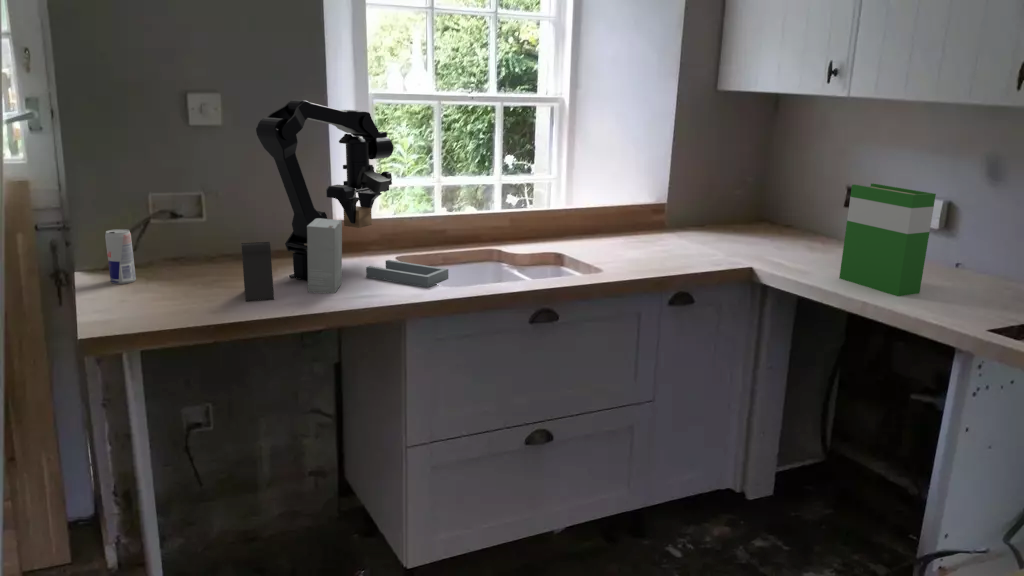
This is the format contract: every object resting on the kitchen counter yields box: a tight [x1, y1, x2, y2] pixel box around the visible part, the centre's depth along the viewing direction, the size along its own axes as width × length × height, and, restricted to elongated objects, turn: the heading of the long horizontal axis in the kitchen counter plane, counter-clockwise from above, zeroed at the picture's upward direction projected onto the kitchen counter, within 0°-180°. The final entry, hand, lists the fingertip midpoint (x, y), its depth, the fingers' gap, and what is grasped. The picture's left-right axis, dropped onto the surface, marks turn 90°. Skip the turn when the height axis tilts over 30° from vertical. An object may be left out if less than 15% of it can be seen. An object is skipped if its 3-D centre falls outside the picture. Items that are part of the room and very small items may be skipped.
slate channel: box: [365, 259, 449, 288], centre depth 194 cm, size 9×18×2 cm, turn 62°
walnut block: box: [343, 205, 373, 229], centre depth 205 cm, size 5×5×4 cm
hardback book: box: [839, 182, 937, 297], centre depth 193 cm, size 18×7×24 cm, turn 25°
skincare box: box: [306, 218, 343, 294], centre depth 181 cm, size 8×7×16 cm
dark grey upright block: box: [240, 241, 275, 303], centre depth 175 cm, size 9×6×12 cm, turn 19°
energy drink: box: [104, 228, 137, 285], centre depth 184 cm, size 5×5×12 cm
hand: (359, 221), depth 205 cm, fingers closed on walnut block, 5 cm apart
